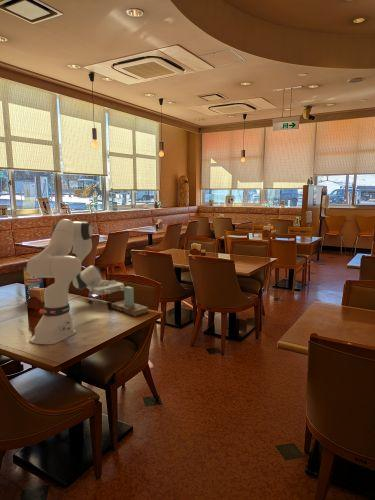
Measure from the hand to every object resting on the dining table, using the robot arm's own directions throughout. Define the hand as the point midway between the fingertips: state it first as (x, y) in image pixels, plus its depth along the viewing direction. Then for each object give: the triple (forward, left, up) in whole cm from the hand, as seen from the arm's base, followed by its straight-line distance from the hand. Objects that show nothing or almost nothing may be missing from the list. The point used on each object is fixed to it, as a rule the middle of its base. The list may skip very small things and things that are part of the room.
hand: (116, 290), depth 221 cm
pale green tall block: (-6, -10, -10) cm, 15 cm away
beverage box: (-1, +56, -10) cm, 57 cm away
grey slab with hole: (-6, -11, -10) cm, 15 cm away
